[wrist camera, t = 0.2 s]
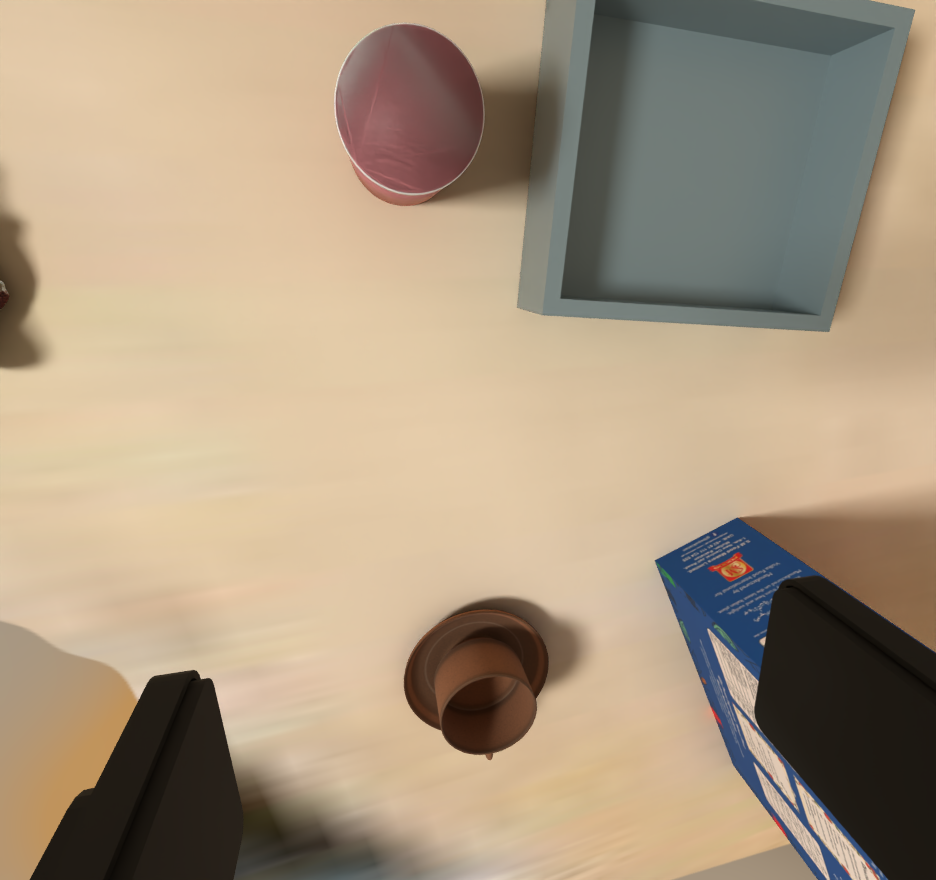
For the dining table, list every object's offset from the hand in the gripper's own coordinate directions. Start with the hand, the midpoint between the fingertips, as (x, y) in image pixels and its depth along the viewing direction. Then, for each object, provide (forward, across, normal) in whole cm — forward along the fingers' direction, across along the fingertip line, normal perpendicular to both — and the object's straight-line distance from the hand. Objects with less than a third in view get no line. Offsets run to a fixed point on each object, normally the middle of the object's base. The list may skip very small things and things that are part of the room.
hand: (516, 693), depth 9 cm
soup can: (+30, -1, -13) cm, 33 cm away
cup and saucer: (+31, -4, +25) cm, 40 cm away
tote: (+30, -19, -11) cm, 37 cm away
